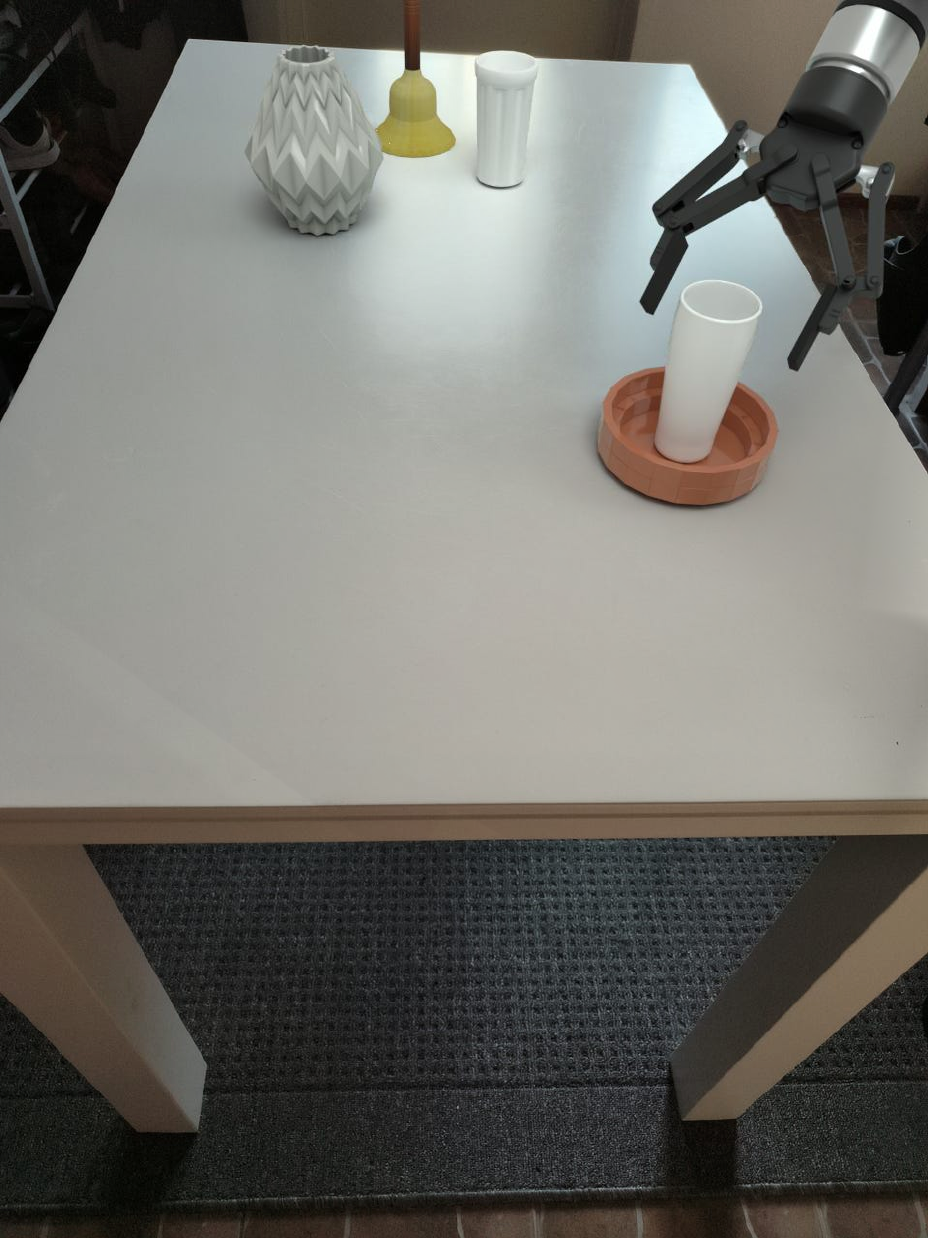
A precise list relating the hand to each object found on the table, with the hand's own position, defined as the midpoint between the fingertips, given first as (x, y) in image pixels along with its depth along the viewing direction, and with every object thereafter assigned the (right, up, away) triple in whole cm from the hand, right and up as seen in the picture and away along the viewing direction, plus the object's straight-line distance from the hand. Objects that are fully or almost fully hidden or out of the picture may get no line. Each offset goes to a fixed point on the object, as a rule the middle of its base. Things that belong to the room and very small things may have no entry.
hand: (716, 336), depth 75 cm
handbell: (-29, +46, +54) cm, 76 cm away
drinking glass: (-1, -8, +8) cm, 11 cm away
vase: (-39, +26, +37) cm, 60 cm away
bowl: (-1, -8, +9) cm, 12 cm away
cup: (-16, +36, +46) cm, 61 cm away
